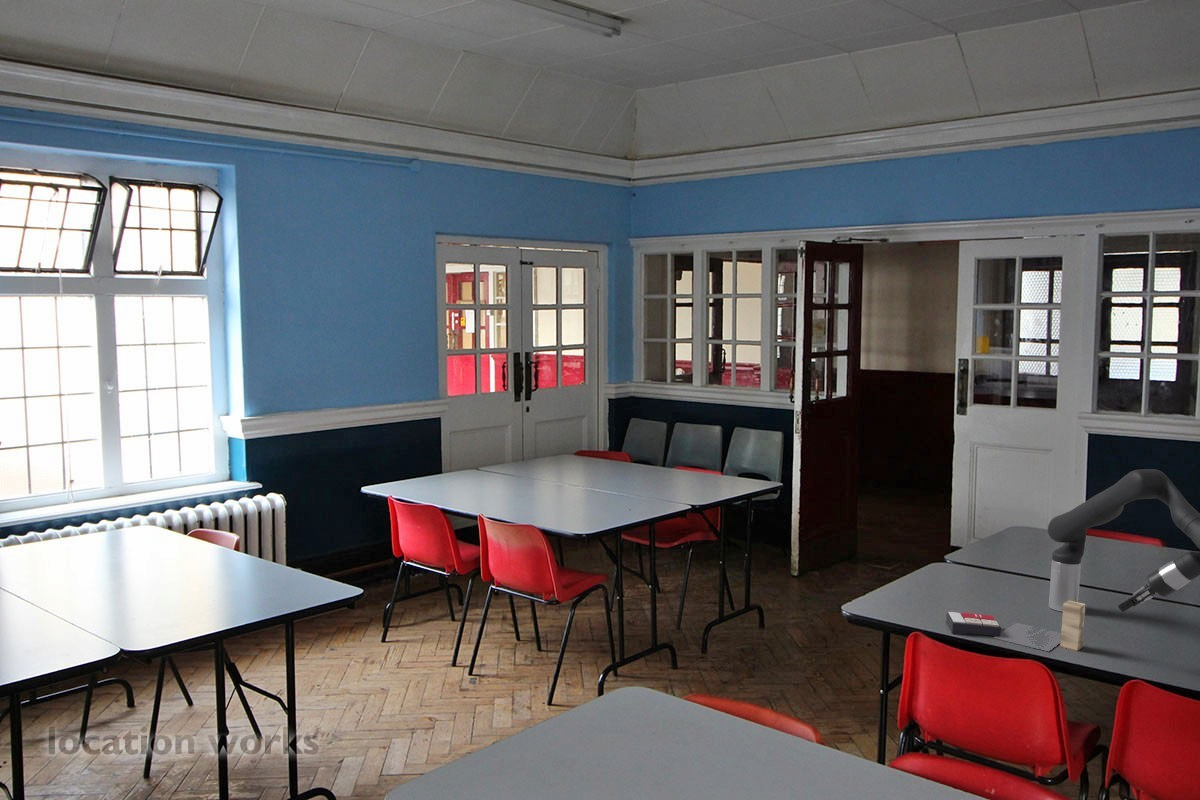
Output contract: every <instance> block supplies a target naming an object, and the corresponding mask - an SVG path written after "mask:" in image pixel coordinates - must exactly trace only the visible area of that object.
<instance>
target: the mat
mask: <svg viewBox="0 0 1200 800" xmlns="http://www.w3.org/2000/svg"><path fill="white" fill-rule="evenodd" d="M1032 627H1033V628H1034V627H1035V626H1032V625H1030V624H1023V623H1019V622H1015V623H1014V624H1012V625H1011V626H1009V627H1007V628H1006V629H1004V630H1003V631H1002V632H1000V636H993V639H994V640H998V639H999V641H1002V640H1003V642H1006V643H1009V644H1014V643H1015V644H1014V645H1018V644H1019V645H1018V646H1023V647H1026V646H1027V648H1029V647H1031V648H1030V649H1033V648H1036V649H1035V650H1037V649H1039V648H1038V646H1036V645H1035V643H1034V642H1033V643H1034V644H1032V642H1031V641H1037V640H1029V639H1033V638H1027V637H1028V636H1029V637H1030V636H1031V635H1032V636H1033V635H1034V634H1035V635H1036V633H1037V634H1039V632H1040V633H1041V631H1042V632H1043V630H1044V631H1045V630H1046V629H1045V628H1041V630H1040V631H1039V632H1036V633H1033V634H1031V635H1030V634H1027V633H1028V630H1029V631H1031V630H1032V631H1033V629H1032ZM1030 628H1031V629H1030ZM1034 629H1035V628H1034ZM1048 630H1049V629H1048ZM1026 632H1027V633H1026ZM1049 634H1050V635H1049ZM1046 635H1049V637H1048V638H1050V639H1049V642H1047V641H1048V640H1047V641H1046V642H1047V643H1048V644H1046V643H1044V644H1046V646H1045V645H1043V646H1044V648H1043V647H1041V646H1039V647H1040V648H1041V650H1044V651H1043V652H1045V651H1048V652H1047V653H1050V652H1051V651H1052V650H1054V649H1055V648H1057V647H1058V646H1059V645H1060V643H1061V632H1057V631H1053V630H1049V631H1048V632H1046V633H1045V636H1046ZM1025 636H1026V637H1025ZM1054 636H1055V637H1054ZM1051 637H1053V638H1051ZM1048 638H1047V639H1048ZM1034 639H1035V638H1034ZM1051 640H1052V641H1051ZM1043 642H1045V641H1043ZM1058 644H1059V645H1058ZM1057 645H1058V646H1057ZM1054 647H1055V648H1054ZM1053 648H1054V649H1053ZM1041 650H1040V651H1041ZM1050 650H1051V651H1050ZM1049 651H1050V652H1049Z"/></svg>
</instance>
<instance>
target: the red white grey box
mask: <svg viewBox="0 0 1200 800" xmlns="http://www.w3.org/2000/svg"><path fill="white" fill-rule="evenodd" d="M945 624H946V625H947V627H948V629H949V630H950V632H951V633H952V634H957V635H965V634H974V635H975V634H976V635H984V636H993V637H995V636H1000V633H1001V631H1002V630H1001V629H1002V628H1001V625H999V623H998V622H997V620H996V619H995V617H994V616H993V615H989V614H979V613H970V612H955V611H954V612H953V611H948V612H946V619H945Z"/></svg>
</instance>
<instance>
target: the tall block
mask: <svg viewBox="0 0 1200 800" xmlns="http://www.w3.org/2000/svg"><path fill="white" fill-rule="evenodd" d="M1085 615H1086V603H1082V602H1079V601H1078V602H1074V601H1069V600H1068V601H1067V602H1065V603H1064V604H1063V612H1062V617H1061V630H1060V633H1061V643H1060V644H1059V646H1060V648H1062V647H1063V649H1066V648H1067V650H1070V649H1071V651H1074V652H1078V651H1080V649H1081V648H1083V642H1084V641H1083V640H1084V630H1085V629H1084V628H1085V627H1084V626H1085Z"/></svg>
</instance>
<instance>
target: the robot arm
mask: <svg viewBox="0 0 1200 800" xmlns="http://www.w3.org/2000/svg"><path fill="white" fill-rule="evenodd" d="M1152 499H1153V500H1155V499H1157V500H1159V501H1161V502H1162V503H1163V504H1165V505H1166V506H1167V507H1168V508H1169V510H1170V515H1171V519H1172V522H1173V523H1174V525H1175V526H1176V527H1177V528H1178V529H1179V530H1180V531H1181V532H1183V533H1184V534H1185V535H1186V536H1187V537H1188V538H1190V539H1191V541H1192V542H1193V543H1194V545H1195V546H1196V547H1197V548H1198V549H1199V550H1200V512H1199V511H1198V510H1196V509H1195V508H1194V507H1193V506H1192V505H1191V504H1190V503H1189V502H1188V500H1187V499H1186V498H1185V496H1183V494H1182V493H1181V492H1180V490H1179V489H1178V488H1177V487H1176V485H1175V484H1174V483H1173V481H1172V480H1171V479H1170V478H1169V477H1168V475H1166V474H1165V473H1164V472H1163V471H1161V470H1160V469H1151V468H1148V469H1146V468H1145V469H1143V468H1142V469H1134V470H1132V471H1129V472H1128V473H1127V474H1125V475H1124V476H1123V477H1121V478H1120V479H1119V480H1118V481H1117V482H1116V483H1114V484H1113V485H1111V486H1109V487H1108V488H1106V489H1104V490H1102V491H1101V492H1099V493H1097V494H1096V495H1093V496H1091V497H1090V498H1088V500H1086V501H1084V502H1082V503H1081V504H1079V505H1078V506H1075V507H1074V508H1073V509H1071V510H1069V511H1066V512H1065V513H1062V514H1059V515H1056V516H1055V517H1053V518H1051V520H1050V521H1049V523H1048V526H1047V534H1048V536H1049V538H1050V539H1051V540H1052V541H1054V542H1057V543H1061V544H1063V545H1062V546H1061V547H1059V548H1057V549H1056V550H1053V551H1052V555H1051V568H1050V569H1051V570H1050V583H1049V597H1048V598H1049V599H1048V608H1050V609H1051V610H1054V611H1056V612H1062V613H1063V604H1064V603H1065V602H1067V601H1068V600H1069V601H1074V602H1079V596H1080V593H1079V591H1080V581H1081V566H1082V558H1083V556H1084V553H1085V546H1086V539H1087V529H1090V528H1093V527H1098V526H1101V525H1105V524H1106V523H1107V524H1108V523H1109V522H1111V521H1112V520H1113V521H1114V519H1116V518H1118V517H1119V516H1120V515H1121V514H1122V512H1123V511H1124V506H1125V505H1127V504H1129V503H1130V502H1133V501H1136V500H1152ZM1199 576H1200V551H1194V550H1191V551H1187V552H1185V553H1183V554H1182V555H1180V556H1178V557H1176V558H1175V559H1174V560H1171V561H1169V562H1167V563H1165V564H1164V565H1162V566H1161V567H1159V568H1157V569H1155V570H1154V571H1153V572H1151V573H1149V574H1148V575H1147V577H1146V578H1147V579H1146V580H1147V582H1148V583H1149V584H1148V583H1145V584H1144V585H1142V587H1140V588H1139V589H1138V590H1136V591H1135V592H1134V593H1132V596H1129V597H1128V598H1127V599H1126V600H1124V601H1123V602H1121V603H1120V604H1118V606H1117V607H1118V609H1120V611H1121V612H1122V613H1123V612H1125V611H1127V610H1129V609H1130V608H1132V607H1136V606H1137V605H1139V604H1141V605H1142V604H1143V603H1145V602H1146V601H1148V600H1149V601H1150V600H1152V598H1154V597H1155V596H1156V595H1157V594H1158V595H1159V596H1161V597H1163V598H1166V597H1168V596H1171V594H1173V593H1175V592H1177V591H1178V590H1180V589H1182V588H1183V587H1184V586H1186V585H1188V584H1189V583H1190V582H1192V581H1193V580H1194V579H1196V578H1198V577H1199Z"/></svg>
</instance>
